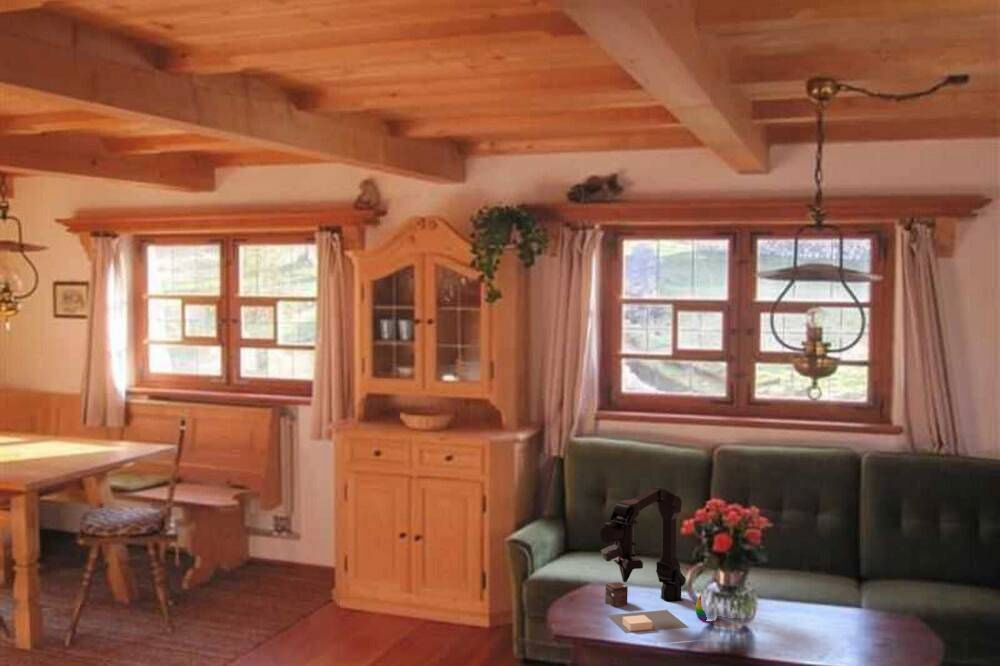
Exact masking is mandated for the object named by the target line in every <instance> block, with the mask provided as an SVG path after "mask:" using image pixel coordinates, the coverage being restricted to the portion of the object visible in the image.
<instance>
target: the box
mask: <svg viewBox="0 0 1000 666" xmlns="http://www.w3.org/2000/svg"><path fill="white" fill-rule="evenodd" d="M628 588H629V587H628V585H626V584H624V583H621V582H620V581H615V582H609V583H605V593H604V594H605V597H604V598H605V600H604V601H605V604H607V605H610V606H611V607H613V608H616V607H623V606H628V591H629V590H628Z"/></svg>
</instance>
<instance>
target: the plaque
mask: <svg viewBox="0 0 1000 666" xmlns="http://www.w3.org/2000/svg"><path fill="white" fill-rule="evenodd" d="M623 625H624V626H625V627H626V628H627V629H629V630H630V631H637V630H648V629H652V621H651V620H650V619H649V618H647V617H646V616H645V615H638V616H626V617H623Z"/></svg>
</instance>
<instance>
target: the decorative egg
mask: <svg viewBox="0 0 1000 666" xmlns="http://www.w3.org/2000/svg"><path fill="white" fill-rule="evenodd" d="M699 595H700V596H699V597H698V598H697V601H696V602H695V603H696V604H695V614H696V617H697V618H698V620H699V619H700V621H701V620H702V621H701V622H704V621H706V620H707V617H706V614H705V612H704V611H703V609H702V607H701V594H699Z"/></svg>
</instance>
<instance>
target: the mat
mask: <svg viewBox="0 0 1000 666" xmlns="http://www.w3.org/2000/svg"><path fill="white" fill-rule="evenodd" d="M638 615H645V616H646V617H647V618H649V619H650V620H651V621H652V629H648V630H637V631H630V630H629V629H627V628H626V627H625V626H624V625H623V617H626V616H638ZM606 616H607V618H609V620H611V621H612V623H614V624H615V625H616V626H617V627H618V628H619V629H620V630H622V632H624V633H625V634H631V633H641V632H643V633H645V632H652V631H654V632H655V631H663V630H676V629H685V628H689V626H688V625H687V624H686V623H684V622H683V621H682V620H680V619H679V618H678V617H677V616H675V615H674V614H673V613H671V611H669V610H668V609H662V610H660V609H659V610H653V611H651V610H650V611H640V612H639V611H638V612H630V613H629V612H627V613H615V614H606Z"/></svg>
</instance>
